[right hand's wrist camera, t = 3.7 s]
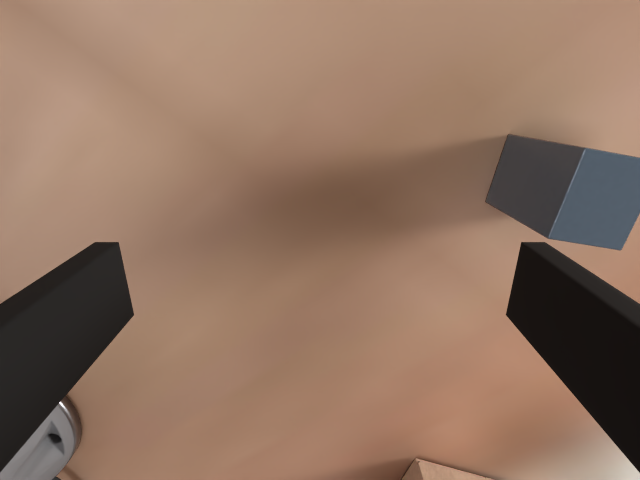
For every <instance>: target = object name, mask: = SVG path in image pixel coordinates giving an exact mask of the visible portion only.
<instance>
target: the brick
mask: <svg viewBox="0 0 640 480" xmlns="http://www.w3.org/2000/svg"><path fill="white" fill-rule="evenodd" d="M486 203H488V204H490V205H492V206H493V207H495V208H497V209H498V210H500V211H502V212H503V213H505V214H507V215H509V216H510V217H512V218H514V219H515V220H517V221H519V222H520V223H522V224H524V225H526V226H527V227H529V228H531V229H532V230H534V231H536V232H537V233H539V234H541V235H543V236H544V237H546V238H548V239H553V240H559V241H565V242H572V243H578V244H584V245H590V246H596V247H602V248H608V249H615V250H622V248H623V246H624V244H625V242H626V240H627V238H628V236H629V234H630V232H631V230H632V228H633V226H634V224H635V222H636V220H637V218H638V216H639V214H640V158H639V157H633V156H628V155H623V154H617V153H612V152H606V151H601V150H596V149H590V148H585V147H579V146H574V145H568V144H562V143H556V142H551V141H545V140H539V139H534V138H528V137H522V136H517V135H511V134H509V135H508V137H507V140H506V142H505V145H504V148H503V151H502V154H501V157H500V160H499V163H498V166H497V169H496V172H495V175H494V178H493V181H492V184H491V187H490V190H489V193H488V195H487V198H486Z"/></svg>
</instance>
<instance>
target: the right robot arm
mask: <svg viewBox="0 0 640 480" xmlns="http://www.w3.org/2000/svg"><path fill="white" fill-rule="evenodd" d="M133 315H134V313H133V308H132V303H131V298H130V294H129V289H128V284H127V280H126V275H125V270H124V265H123V261H122V256H121V251H120V247H119V242H95V243H93V244H92V245H90V246H89V247H87V248H86V249H84V250H82V251H81V252H79V253H78V254H76V255H75V256H73V257H72V258H70V259H69V260H67V261H66V262H64V263H63V264H61V265H59V266H58V267H56V268H55V269H53V270H52V271H50V272H49V273H47V274H46V275H44V276H43V277H41V278H40V279H38V280H36V281H35V282H33V283H32V284H30V285H29V286H27V287H26V288H24V289H23V290H21V291H20V292H18V293H17V294H15V295H13V296H12V297H10V298H9V299H7V300H6V301H4V302H3V303H1V304H0V480H61V479H59V478H58V477H56V475H57V474H58V473H59V472H60V471H61V470H62V469H63V467H64V466H65V465H66V464H67V463H68V461H69V460H70V458H71V457H72V455H73V454H74V452H75V451H76V449H77V448H78V445H79V443H80V439H81V423H80V419H79V416H78V414H77V412H76V410H75V408H74V406H73V405H72V403H71V402H70V400H69V399H68V398H67V397H66V394H67V393H68V392H69V391H70V390H71V389H72V387H73V386H74V385H75V384H76V383H77V382H78V380H79V379H80V378H81V377H82V376H83V374H84V373H85V372H86V371H87V370H88V369H89V367H90V366H91V365H92V364H93V363H94V361H95V360H96V359H97V358H98V357H99V356H100V354H101V353H102V352H103V351H104V350H105V349H106V347H107V346H108V345H109V344H110V343H111V341H112V340H113V339H114V338H115V337H116V336H117V334H118V333H119V332H120V331H121V330H122V328H123V327H124V326H125V325H126V324H127V323H128V321H129V320H130V319H131V318H132V317H133ZM506 315H507V317H508V318H509V319H510V320H511V321H512V323H513V324H514V325H515V326H516V327H517V328H518V330H519V331H520V332H521V333H522V334H523V336H524V337H525V338H526V339H527V340H528V341H529V343H530V344H531V345H532V346H533V347H534V349H535V350H536V351H537V352H538V353H539V354H540V356H541V357H542V358H543V359H544V360H545V361H546V363H547V364H548V365H549V366H550V367H551V369H552V370H553V371H554V372H555V373H556V374H557V376H558V377H559V378H560V379H561V380H562V382H563V383H564V384H565V385H566V386H567V387H568V389H569V390H570V391H571V392H572V393H573V394H574V396H575V397H576V398H577V399H578V400H579V402H580V403H581V404H582V405H583V406H584V407H585V409H586V410H587V411H588V412H589V413H590V415H591V416H592V417H593V418H594V419H595V420H596V422H597V423H598V424H599V425H600V426H601V428H602V429H603V430H604V431H605V432H606V433H607V435H608V436H609V437H610V438H611V439H612V440H613V442H614V443H615V444H616V445H617V446H618V448H619V449H620V450H621V451H622V452H623V453H624V455H625V456H626V457H627V458H628V459H629V461H630V462H631V463H632V464H633V465H634V466H635V468H636V469H637V470H638V471H639V472H640V304H639V303H637V302H636V301H634V300H633V299H631V298H630V297H628V296H627V295H625V294H623V293H622V292H620V291H619V290H617V289H616V288H614V287H613V286H611V285H610V284H608V283H607V282H605V281H604V280H602V279H600V278H599V277H597V276H596V275H594V274H593V273H591V272H590V271H588V270H587V269H585V268H584V267H582V266H581V265H579V264H577V263H576V262H574V261H573V260H571V259H570V258H568V257H567V256H565V255H564V254H562V253H561V252H559V251H558V250H556V249H554V248H553V247H551V246H550V245H548V244H547V243H545V242H521V247H520V251H519V256H518V261H517V265H516V270H515V275H514V280H513V284H512V289H511V294H510V298H509V303H508V308H507V313H506Z"/></svg>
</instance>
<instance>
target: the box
mask: <svg viewBox="0 0 640 480" xmlns="http://www.w3.org/2000/svg"><path fill="white" fill-rule="evenodd" d="M402 480H493V479H490V478H486V477H482V476H479V475H475V474H472V473H468V472H464V471H461V470H457V469H453V468H450V467H446V466H442V465H439V464H435V463H431V462H428V461H424V460H420V459H417V458H415V460H414V461H413V463H412V464H411V466H410V467H409V469H408V471H407V472H406V474H405V475H404V477H403V478H402Z"/></svg>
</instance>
